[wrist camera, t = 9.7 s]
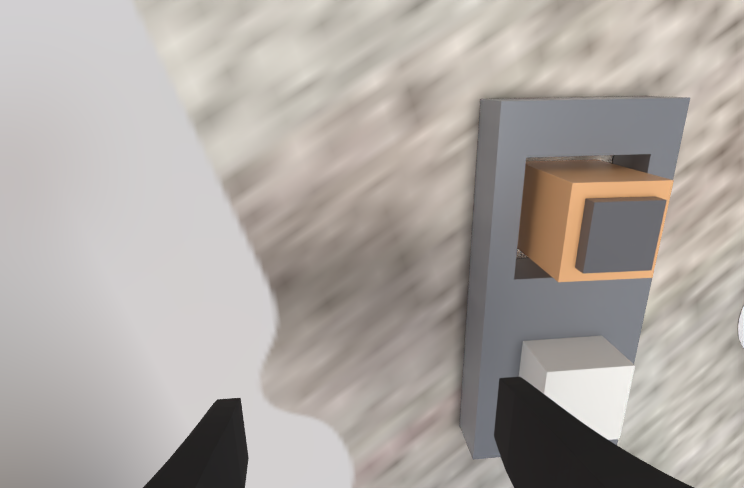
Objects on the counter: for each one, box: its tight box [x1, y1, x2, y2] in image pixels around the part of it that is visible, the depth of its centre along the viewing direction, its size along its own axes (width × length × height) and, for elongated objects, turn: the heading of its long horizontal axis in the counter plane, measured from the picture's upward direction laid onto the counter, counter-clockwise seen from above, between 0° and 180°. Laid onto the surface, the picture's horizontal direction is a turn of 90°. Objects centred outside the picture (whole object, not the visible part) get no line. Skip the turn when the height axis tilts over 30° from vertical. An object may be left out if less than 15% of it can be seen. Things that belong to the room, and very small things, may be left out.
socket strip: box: [460, 96, 690, 459], centre depth 22 cm, size 20×8×5 cm, turn 1°
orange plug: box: [517, 160, 674, 282], centre depth 20 cm, size 4×4×6 cm
